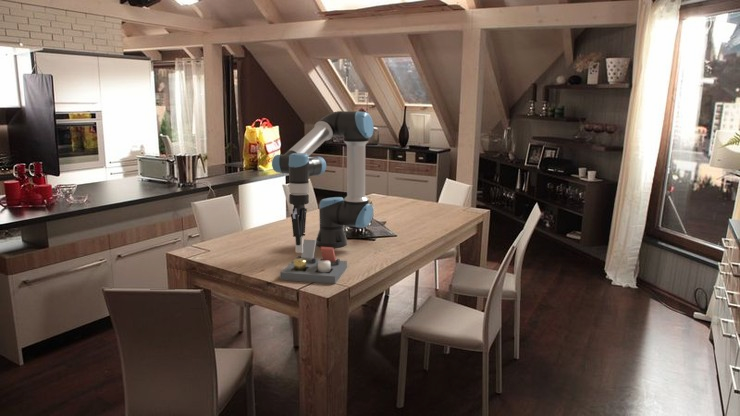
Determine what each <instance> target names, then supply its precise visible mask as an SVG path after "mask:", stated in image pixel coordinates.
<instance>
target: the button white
mask: <svg viewBox="0 0 740 416" xmlns="http://www.w3.org/2000/svg"><path fill="white" fill-rule="evenodd" d="M318 271H319V272H323V273H325V272H330V271H331V262H330V261H328V260H321V261H318Z"/></svg>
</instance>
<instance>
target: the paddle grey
mask: <svg viewBox="0 0 740 416" xmlns="http://www.w3.org/2000/svg"><path fill="white" fill-rule="evenodd" d="M316 247H317V245H316V239H304V238H303V253H301V254H300V256H301V258H302V259H306V262H313V258H314V257H315V250H316Z"/></svg>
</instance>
